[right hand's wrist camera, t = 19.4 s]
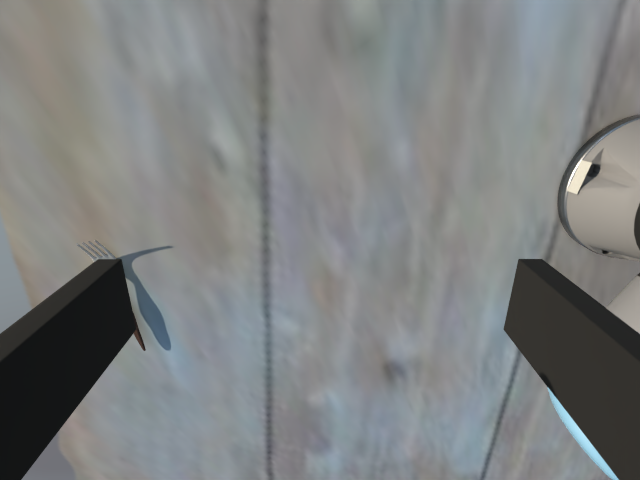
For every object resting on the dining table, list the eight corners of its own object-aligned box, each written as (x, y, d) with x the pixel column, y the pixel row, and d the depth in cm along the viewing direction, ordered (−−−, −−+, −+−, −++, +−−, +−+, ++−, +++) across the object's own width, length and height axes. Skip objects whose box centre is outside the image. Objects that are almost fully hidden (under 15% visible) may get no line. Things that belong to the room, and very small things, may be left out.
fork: (136, 349, 49) (129, 360, 47) (84, 237, 43) (74, 244, 41) (156, 346, 49) (149, 356, 47) (106, 233, 43) (96, 239, 41)
